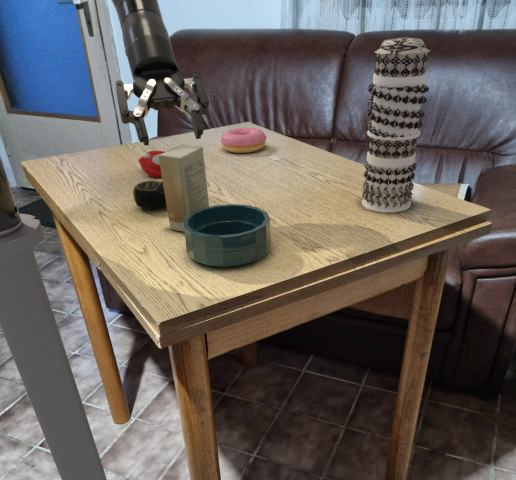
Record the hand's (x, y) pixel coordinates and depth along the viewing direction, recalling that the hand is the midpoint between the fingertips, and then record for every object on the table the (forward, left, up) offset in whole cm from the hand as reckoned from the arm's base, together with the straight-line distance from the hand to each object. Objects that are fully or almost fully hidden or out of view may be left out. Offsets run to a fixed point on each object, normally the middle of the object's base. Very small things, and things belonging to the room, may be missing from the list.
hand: (173, 139), depth 82 cm
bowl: (+7, -16, -13) cm, 21 cm away
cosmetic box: (+1, -4, -13) cm, 14 cm away
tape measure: (-4, +7, -13) cm, 16 cm away
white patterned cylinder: (+36, -3, -13) cm, 38 cm away
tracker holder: (-2, +28, -13) cm, 31 cm away
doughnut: (+16, +41, -13) cm, 46 cm away
